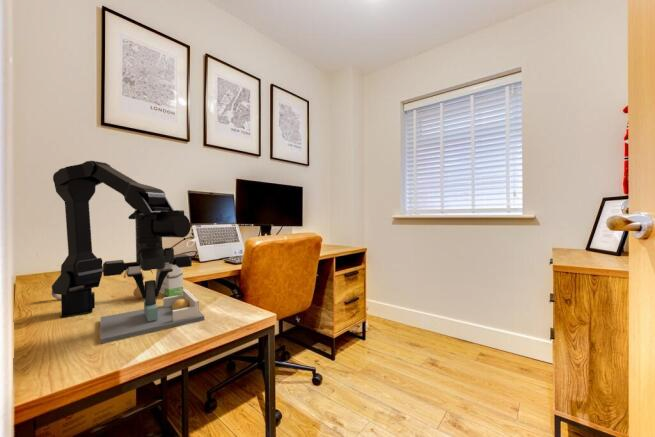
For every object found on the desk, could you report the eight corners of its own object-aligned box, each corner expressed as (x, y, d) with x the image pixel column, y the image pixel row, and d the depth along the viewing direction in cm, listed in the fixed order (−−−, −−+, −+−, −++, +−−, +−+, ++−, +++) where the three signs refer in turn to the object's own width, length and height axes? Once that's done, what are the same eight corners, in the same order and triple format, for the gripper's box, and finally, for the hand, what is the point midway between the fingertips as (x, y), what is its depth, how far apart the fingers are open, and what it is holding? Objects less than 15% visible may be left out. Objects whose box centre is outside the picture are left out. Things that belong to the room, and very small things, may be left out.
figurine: (128, 302, 86) (128, 264, 86) (121, 299, 90) (120, 261, 90) (157, 296, 93) (157, 260, 93) (149, 292, 97) (149, 258, 96)
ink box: (183, 294, 95) (183, 259, 95) (168, 297, 92) (167, 261, 91) (174, 289, 101) (173, 257, 101) (159, 292, 97) (158, 258, 97)
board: (100, 343, 60) (100, 339, 60) (100, 320, 72) (100, 317, 72) (204, 319, 73) (204, 316, 73) (189, 303, 85) (189, 300, 85)
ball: (190, 300, 76) (189, 315, 76) (187, 296, 79) (185, 311, 79) (174, 301, 74) (172, 317, 74) (171, 298, 77) (169, 312, 77)
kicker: (147, 321, 68) (146, 285, 68) (143, 312, 74) (142, 279, 74) (158, 319, 70) (158, 283, 70) (153, 310, 76) (153, 277, 76)
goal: (173, 321, 69) (173, 305, 69) (163, 306, 80) (163, 292, 80) (199, 315, 73) (198, 300, 73) (186, 302, 84) (186, 289, 84)
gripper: (102, 242, 59) (104, 314, 60) (196, 236, 71) (197, 297, 72) (102, 238, 68) (103, 302, 68) (186, 234, 80) (187, 288, 80)
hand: (150, 297), depth 72 cm, fingers closed on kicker, 2 cm apart
